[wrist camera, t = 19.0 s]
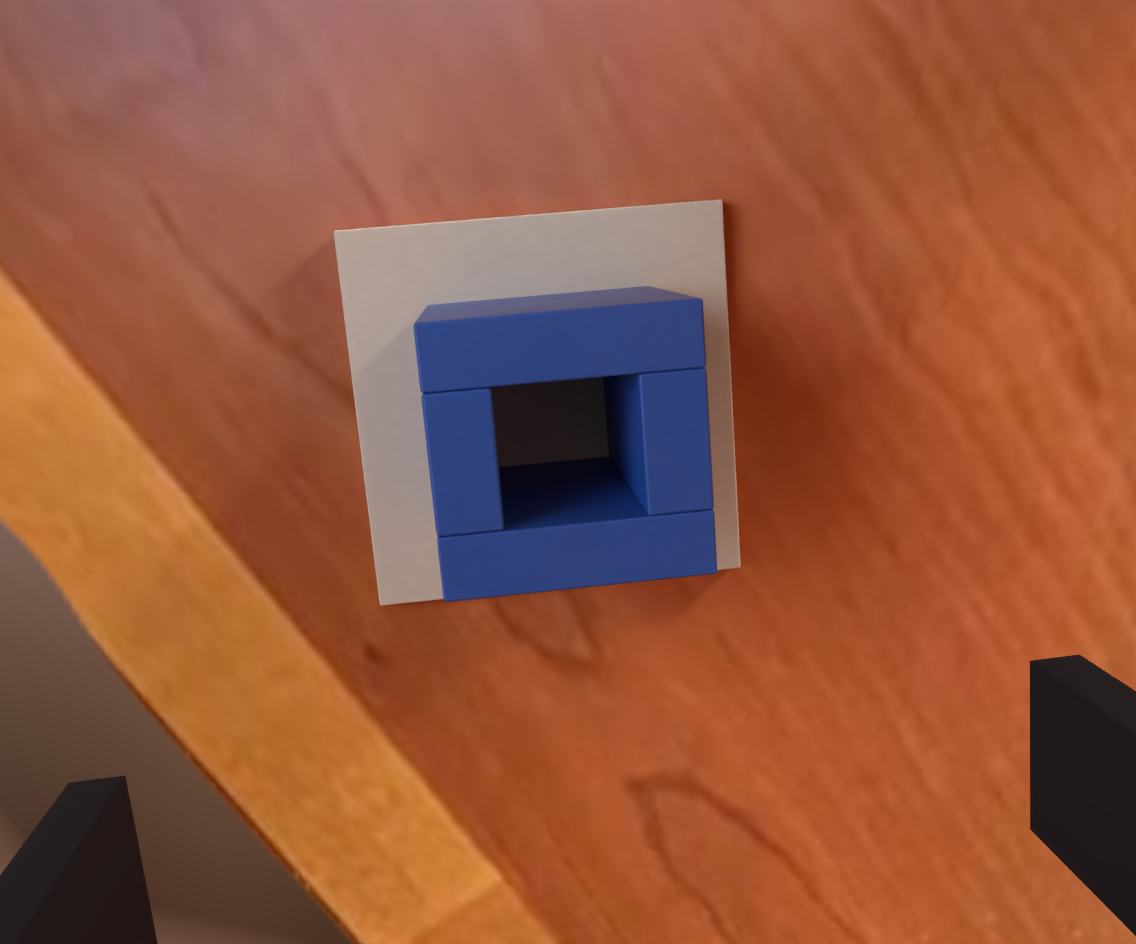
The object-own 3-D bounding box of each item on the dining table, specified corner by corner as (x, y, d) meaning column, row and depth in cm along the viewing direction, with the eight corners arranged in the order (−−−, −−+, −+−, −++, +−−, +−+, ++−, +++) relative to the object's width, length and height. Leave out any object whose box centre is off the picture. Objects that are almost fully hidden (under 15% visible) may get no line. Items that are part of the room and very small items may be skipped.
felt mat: (380, 601, 36) (379, 606, 35) (335, 230, 33) (333, 230, 33) (737, 564, 37) (741, 568, 36) (719, 199, 34) (722, 199, 34)
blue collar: (450, 523, 35) (443, 603, 27) (426, 304, 33) (412, 323, 26) (663, 501, 35) (718, 574, 28) (649, 285, 34) (703, 297, 26)
